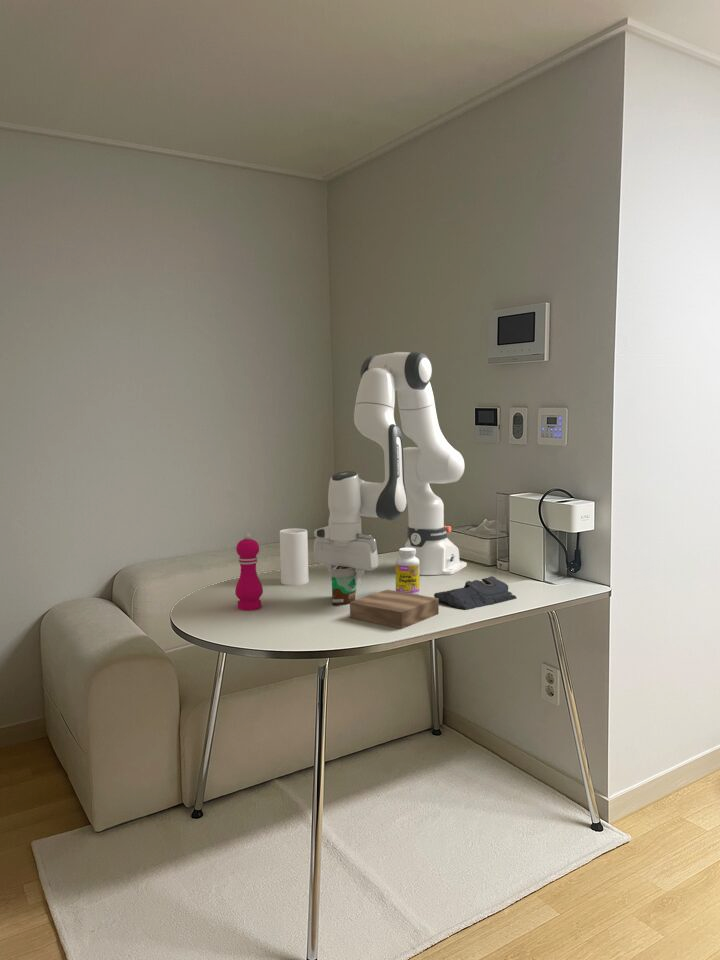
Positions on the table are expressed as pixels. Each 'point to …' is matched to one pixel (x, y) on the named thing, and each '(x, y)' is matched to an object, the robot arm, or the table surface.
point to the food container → (343, 585)
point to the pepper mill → (248, 575)
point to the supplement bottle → (407, 571)
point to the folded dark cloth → (477, 594)
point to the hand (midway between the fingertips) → (345, 582)
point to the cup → (294, 556)
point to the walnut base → (394, 608)
